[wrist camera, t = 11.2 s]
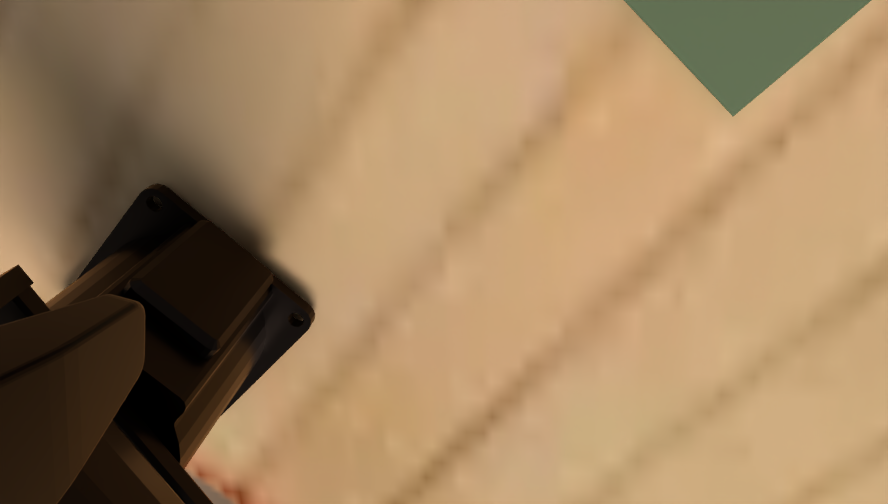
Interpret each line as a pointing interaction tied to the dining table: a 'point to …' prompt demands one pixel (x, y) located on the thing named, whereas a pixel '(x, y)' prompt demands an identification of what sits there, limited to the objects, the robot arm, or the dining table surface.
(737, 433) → the dining table surface
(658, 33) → the green mat
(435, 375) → the dining table surface
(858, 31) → the dining table surface
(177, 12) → the dining table surface
